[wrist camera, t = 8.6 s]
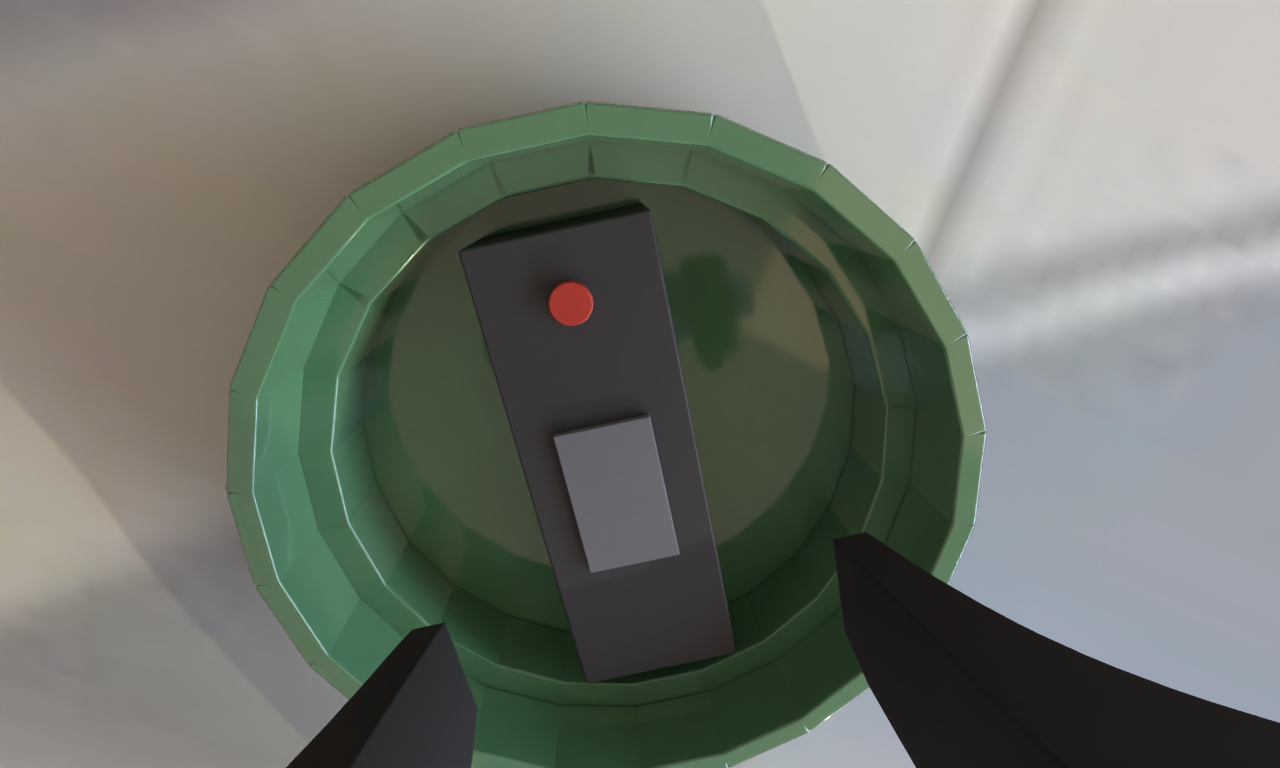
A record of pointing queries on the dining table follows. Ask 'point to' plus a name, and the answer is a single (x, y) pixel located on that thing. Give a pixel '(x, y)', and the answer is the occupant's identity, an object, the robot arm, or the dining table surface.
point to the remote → (604, 435)
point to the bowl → (490, 465)
